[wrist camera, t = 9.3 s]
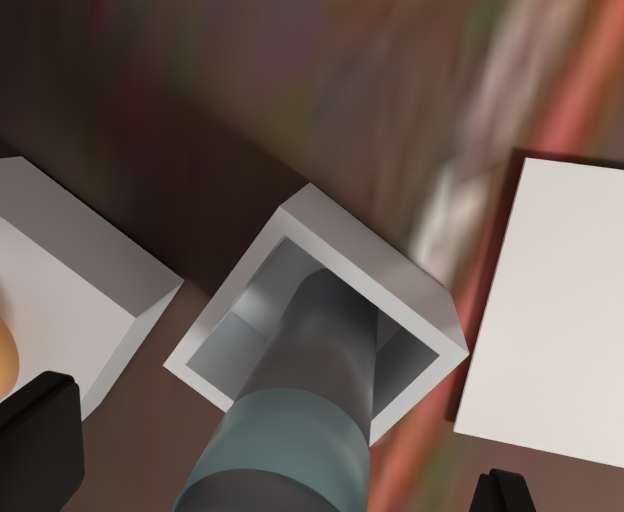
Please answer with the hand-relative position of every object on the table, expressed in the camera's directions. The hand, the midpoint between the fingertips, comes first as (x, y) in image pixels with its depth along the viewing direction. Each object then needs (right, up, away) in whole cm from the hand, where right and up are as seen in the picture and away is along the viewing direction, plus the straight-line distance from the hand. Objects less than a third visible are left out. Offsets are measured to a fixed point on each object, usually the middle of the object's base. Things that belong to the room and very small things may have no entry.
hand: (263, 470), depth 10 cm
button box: (-11, +3, +11) cm, 16 cm away
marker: (+2, +3, +9) cm, 9 cm away
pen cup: (+2, +3, +9) cm, 10 cm away
